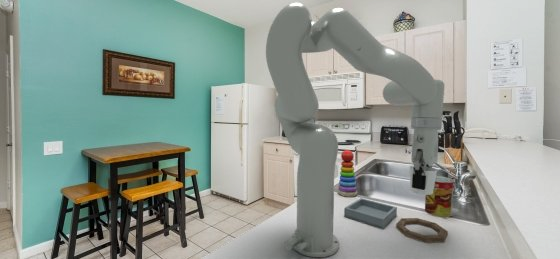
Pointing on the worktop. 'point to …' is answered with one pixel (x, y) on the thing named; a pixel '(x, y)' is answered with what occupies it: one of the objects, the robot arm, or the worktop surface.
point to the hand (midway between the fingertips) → (421, 185)
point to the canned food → (440, 198)
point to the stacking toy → (347, 175)
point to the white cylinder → (430, 181)
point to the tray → (371, 213)
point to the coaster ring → (420, 237)
